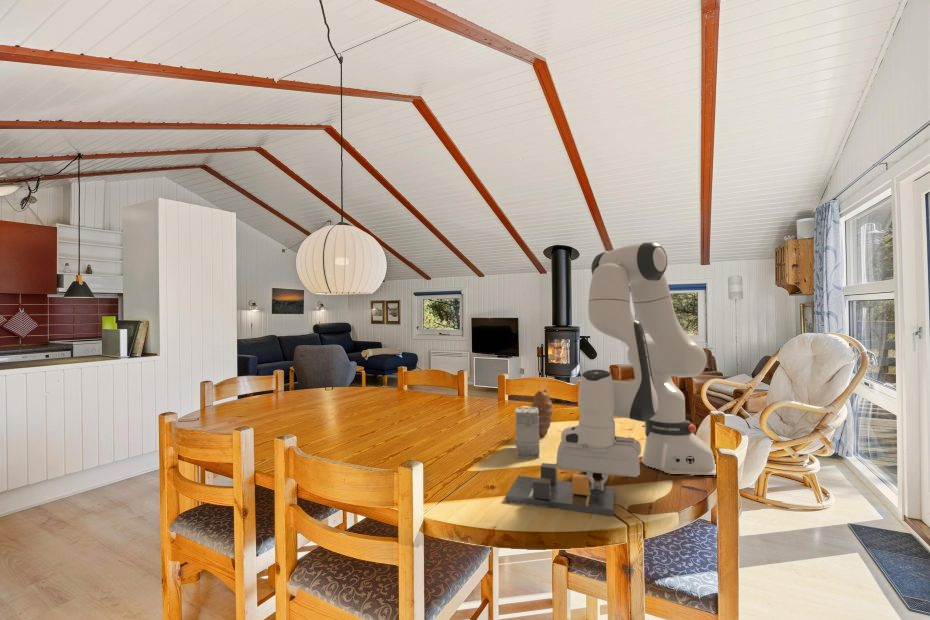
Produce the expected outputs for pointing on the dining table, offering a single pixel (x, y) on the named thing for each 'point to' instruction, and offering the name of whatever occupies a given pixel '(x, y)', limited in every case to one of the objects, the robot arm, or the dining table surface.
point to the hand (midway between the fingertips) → (597, 489)
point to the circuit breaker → (527, 432)
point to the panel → (563, 497)
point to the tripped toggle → (580, 484)
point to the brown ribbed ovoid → (543, 411)
